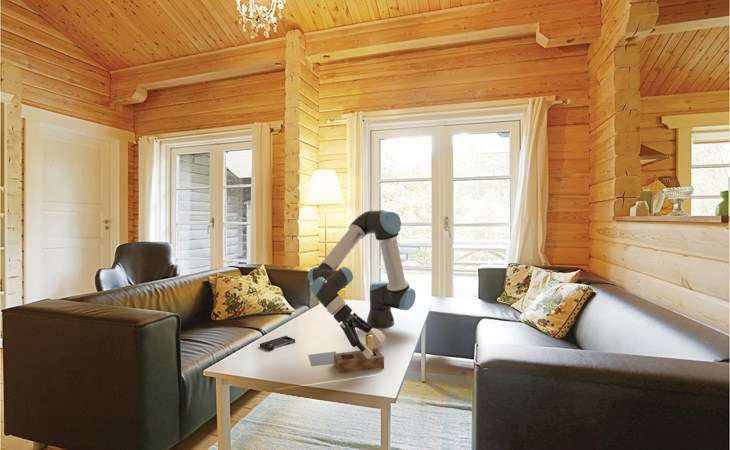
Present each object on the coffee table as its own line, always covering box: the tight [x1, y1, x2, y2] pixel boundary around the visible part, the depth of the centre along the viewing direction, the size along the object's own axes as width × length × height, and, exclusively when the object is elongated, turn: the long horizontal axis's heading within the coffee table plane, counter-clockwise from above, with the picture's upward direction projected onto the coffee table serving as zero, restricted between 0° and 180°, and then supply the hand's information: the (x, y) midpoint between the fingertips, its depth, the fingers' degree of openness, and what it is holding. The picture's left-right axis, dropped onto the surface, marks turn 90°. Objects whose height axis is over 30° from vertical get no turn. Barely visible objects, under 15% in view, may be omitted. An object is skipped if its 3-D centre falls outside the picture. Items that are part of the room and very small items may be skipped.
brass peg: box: [364, 333, 373, 356], centre depth 135 cm, size 3×3×12 cm
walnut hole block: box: [333, 348, 385, 375], centre depth 134 cm, size 18×9×4 cm, turn 106°
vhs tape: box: [259, 335, 296, 352], centre depth 159 cm, size 14×8×2 cm, turn 139°
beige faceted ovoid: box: [363, 327, 387, 349], centre depth 154 cm, size 9×9×12 cm
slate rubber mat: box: [307, 351, 337, 367], centre depth 141 cm, size 12×12×1 cm
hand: (375, 350), depth 135 cm, fingers open, 13 cm apart
